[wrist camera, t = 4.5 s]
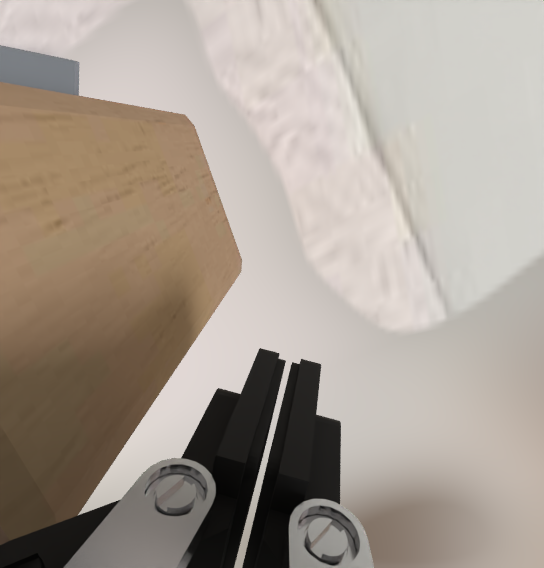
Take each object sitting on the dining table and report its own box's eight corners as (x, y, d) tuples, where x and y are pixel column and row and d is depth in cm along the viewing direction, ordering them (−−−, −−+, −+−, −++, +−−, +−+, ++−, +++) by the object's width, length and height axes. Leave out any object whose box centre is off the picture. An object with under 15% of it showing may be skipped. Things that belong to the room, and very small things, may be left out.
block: (49, 164, 25) (-737, 230, 7) (193, 109, 23) (-381, -26, 4) (116, 307, 28) (-307, 637, 9) (250, 269, 26) (45, 605, 7)
